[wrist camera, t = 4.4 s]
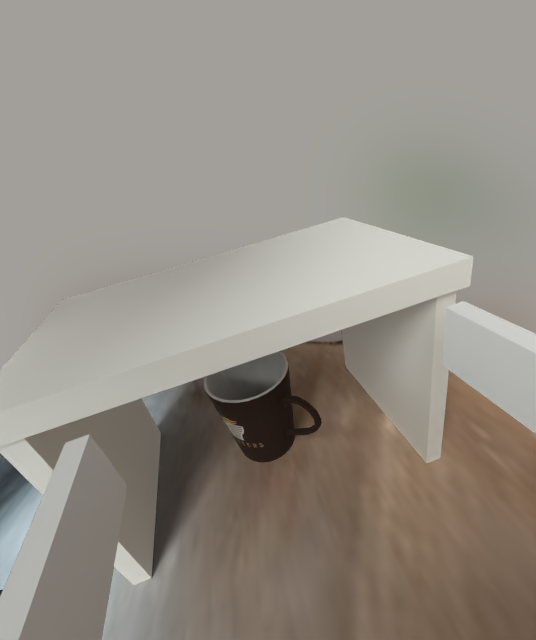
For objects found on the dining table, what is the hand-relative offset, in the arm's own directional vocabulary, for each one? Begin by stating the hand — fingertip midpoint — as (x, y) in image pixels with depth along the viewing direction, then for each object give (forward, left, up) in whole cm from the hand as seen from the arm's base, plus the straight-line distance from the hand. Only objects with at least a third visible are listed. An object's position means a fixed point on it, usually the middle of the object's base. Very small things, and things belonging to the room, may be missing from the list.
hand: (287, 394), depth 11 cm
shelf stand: (-13, +7, -21) cm, 26 cm away
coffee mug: (-13, +7, -21) cm, 26 cm away
